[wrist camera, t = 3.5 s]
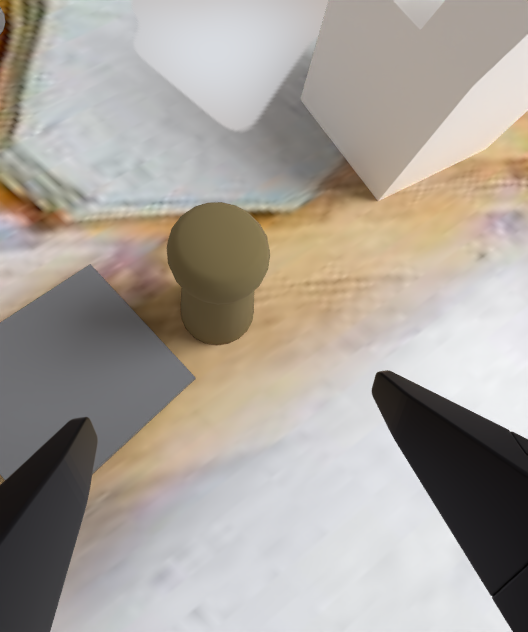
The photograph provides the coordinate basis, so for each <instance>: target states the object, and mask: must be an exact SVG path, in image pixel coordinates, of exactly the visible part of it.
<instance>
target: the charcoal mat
mask: <svg viewBox="0 0 528 632" xmlns="http://www.w3.org/2000/svg"><path fill="white" fill-rule="evenodd" d="M195 379H196V378H195V377H194V376H193V374H192V373H191V372H190V371H189V370H188V369H187V368H186V367H185V366H184V365H183V364H182V363H181V362H180V360H179V359H178V358H177V357H176V356H175V355H174V354H173V353H172V352H171V351H170V350H169V349H168V347H167V346H166V345H165V344H164V343H163V342H162V341H161V340H160V339H159V338H158V337H157V336H156V335H155V333H154V332H153V331H152V330H151V329H150V328H149V327H148V326H147V325H146V324H145V323H144V322H143V321H142V319H141V318H140V317H139V316H138V315H137V314H136V313H135V312H134V311H133V310H132V309H131V308H130V307H129V305H128V304H127V303H126V302H125V301H124V300H123V299H122V298H121V297H120V296H119V295H118V294H117V293H116V291H115V290H114V289H113V288H112V287H111V286H110V285H109V284H108V283H107V282H106V281H105V280H104V278H103V277H102V276H101V275H100V274H99V273H98V272H97V271H96V270H95V269H94V268H93V267H92V266H91V264H90V265H88V266H87V267H85V268H84V269H82V270H81V271H79V272H77V273H76V274H74V275H73V276H71V277H70V278H68V279H67V280H65V281H64V282H62V283H61V284H59V285H57V286H56V287H54V288H53V289H51V290H50V291H48V292H47V293H45V294H44V295H42V296H41V297H39V298H37V299H36V300H34V301H33V302H31V303H30V304H28V305H27V306H25V307H24V308H22V309H21V310H19V311H17V312H16V313H14V314H13V315H11V316H10V317H8V318H7V319H5V320H4V321H2V322H1V323H0V475H1V476H2V477H3V478H4V480H6V479H7V478H8V477H9V476H10V475H11V474H13V473H14V472H15V471H16V470H17V469H18V468H19V467H20V466H21V465H22V464H23V463H24V462H25V461H26V460H28V459H29V458H30V457H31V456H32V455H33V454H34V453H35V452H36V451H37V450H38V449H39V448H40V447H41V446H43V445H44V444H45V443H46V442H47V441H48V440H49V439H50V438H51V437H52V436H53V435H54V434H55V433H56V432H58V431H59V430H60V429H61V428H62V427H63V426H64V425H65V424H66V423H67V422H68V421H70V420H71V419H74V418H80V417H88V418H90V420H91V422H92V425H93V427H94V430H95V432H96V434H97V438H98V444H97V450H96V455H95V461H94V467H93V473H94V472H95V471H97V470H98V469H99V468H100V467H101V466H102V465H103V464H104V463H105V462H106V461H107V460H108V459H109V458H111V457H112V456H113V455H114V454H115V453H116V452H117V451H118V450H119V449H120V448H121V447H122V446H124V445H125V444H126V443H127V442H128V441H129V440H130V439H131V438H132V437H133V436H134V435H135V434H136V433H138V432H139V431H140V430H141V429H142V428H143V427H144V426H145V425H146V424H147V423H148V422H149V421H151V420H152V419H153V418H154V417H155V416H156V415H157V414H158V413H159V412H160V411H161V410H162V409H163V408H165V407H166V406H167V405H168V404H169V403H170V402H171V401H172V400H173V399H174V398H175V397H176V396H178V395H179V394H180V393H181V392H182V391H183V390H184V389H185V388H186V387H187V386H188V385H189V384H190V383H192V382H193V381H194V380H195ZM93 473H92V474H93Z"/></svg>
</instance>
